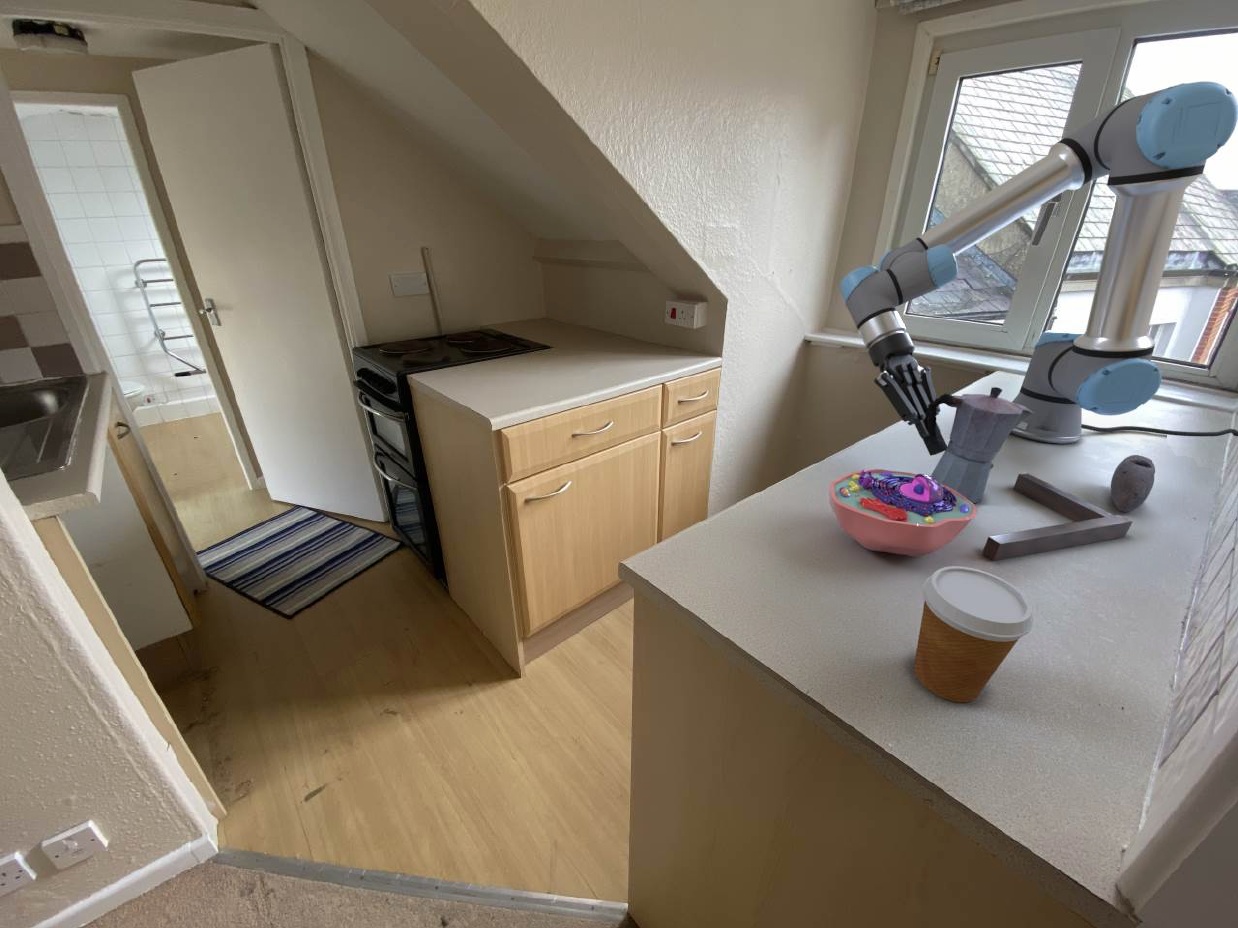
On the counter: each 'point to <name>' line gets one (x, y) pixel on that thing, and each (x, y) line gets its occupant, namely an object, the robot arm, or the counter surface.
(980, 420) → the moka pot
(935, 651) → the disposable coffee cup
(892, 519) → the cell model
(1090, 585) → the counter surface
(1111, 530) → the corner guide
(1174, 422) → the counter surface
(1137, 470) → the perforated stone tool
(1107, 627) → the counter surface
